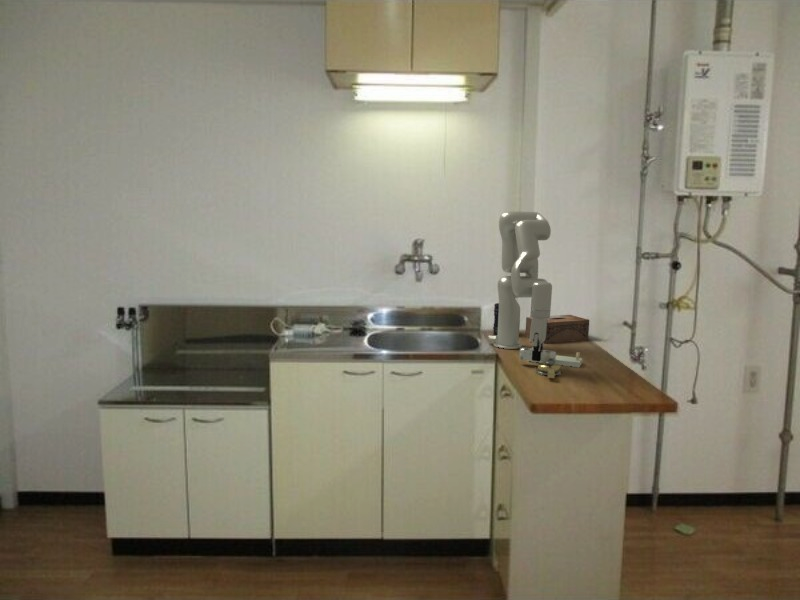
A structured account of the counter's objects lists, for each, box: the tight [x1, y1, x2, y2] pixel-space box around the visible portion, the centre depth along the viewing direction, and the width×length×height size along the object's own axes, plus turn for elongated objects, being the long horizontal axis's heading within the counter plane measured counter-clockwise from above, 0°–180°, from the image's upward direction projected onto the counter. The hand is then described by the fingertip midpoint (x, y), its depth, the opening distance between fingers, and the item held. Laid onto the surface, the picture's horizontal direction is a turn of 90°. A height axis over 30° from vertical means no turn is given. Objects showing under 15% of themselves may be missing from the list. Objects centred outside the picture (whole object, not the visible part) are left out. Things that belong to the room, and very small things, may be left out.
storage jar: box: [492, 302, 499, 336], centre depth 299 cm, size 10×10×15 cm
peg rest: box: [527, 351, 583, 368], centre depth 247 cm, size 20×8×5 cm, turn 67°
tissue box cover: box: [524, 314, 590, 344], centre depth 293 cm, size 26×14×10 cm, turn 113°
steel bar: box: [519, 346, 557, 363], centre depth 240 cm, size 4×14×4 cm, turn 67°
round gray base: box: [535, 368, 562, 377], centre depth 231 cm, size 9×9×1 cm
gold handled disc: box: [537, 361, 561, 379], centre depth 227 cm, size 15×8×3 cm, turn 171°
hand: (537, 358), depth 240 cm, fingers closed on steel bar, 4 cm apart
